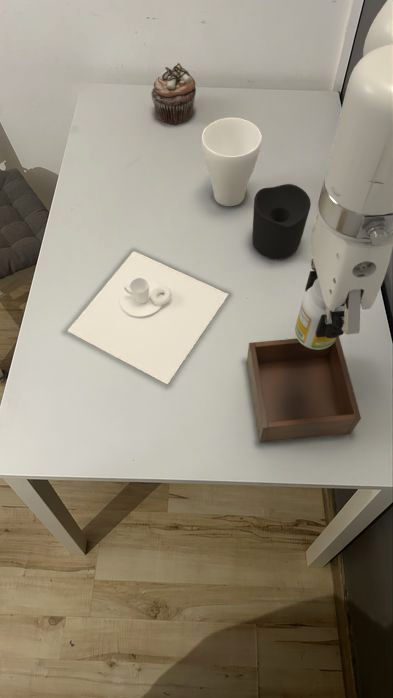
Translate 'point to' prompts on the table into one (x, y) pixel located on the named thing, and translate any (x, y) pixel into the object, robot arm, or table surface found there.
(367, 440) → the table surface
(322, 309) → the supplement bottle
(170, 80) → the cupcake
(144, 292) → the teacup and saucer
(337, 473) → the table surface
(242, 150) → the cup
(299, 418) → the holder
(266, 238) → the pen holder
